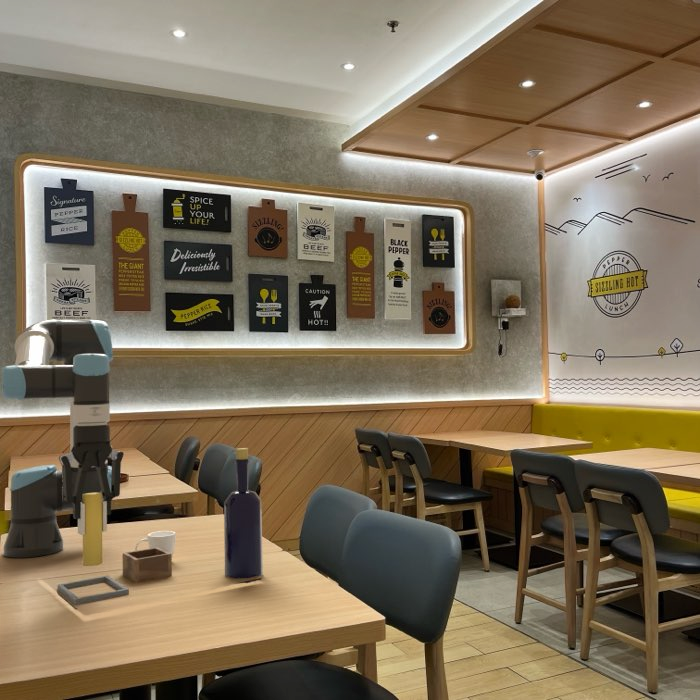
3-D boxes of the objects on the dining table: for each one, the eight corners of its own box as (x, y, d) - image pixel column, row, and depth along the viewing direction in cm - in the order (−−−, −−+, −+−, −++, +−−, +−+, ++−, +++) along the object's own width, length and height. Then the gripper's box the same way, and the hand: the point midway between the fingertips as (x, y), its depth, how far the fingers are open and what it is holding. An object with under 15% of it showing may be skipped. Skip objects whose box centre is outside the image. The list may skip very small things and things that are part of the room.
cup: (177, 567, 173) (176, 535, 174) (135, 572, 170) (134, 538, 171) (175, 561, 180) (175, 529, 180) (134, 565, 177) (134, 533, 177)
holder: (122, 578, 165) (122, 553, 165) (157, 572, 170) (157, 547, 170) (135, 586, 158) (135, 559, 158) (171, 579, 163) (171, 553, 163)
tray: (57, 593, 154) (57, 584, 154) (107, 584, 160) (107, 575, 160) (75, 609, 142) (75, 599, 142) (128, 598, 149) (128, 589, 149)
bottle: (271, 574, 165) (269, 447, 167) (249, 584, 157) (247, 451, 159) (238, 570, 169) (236, 446, 171) (216, 580, 161) (214, 450, 162)
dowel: (80, 563, 152) (80, 493, 153) (99, 560, 154) (98, 491, 155) (85, 567, 149) (85, 496, 149) (104, 563, 151) (104, 493, 152)
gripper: (55, 426, 145) (55, 540, 144) (135, 422, 155) (136, 529, 154) (46, 425, 151) (46, 535, 150) (124, 421, 161) (125, 524, 160)
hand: (92, 531), depth 152 cm, fingers closed on dowel, 4 cm apart
